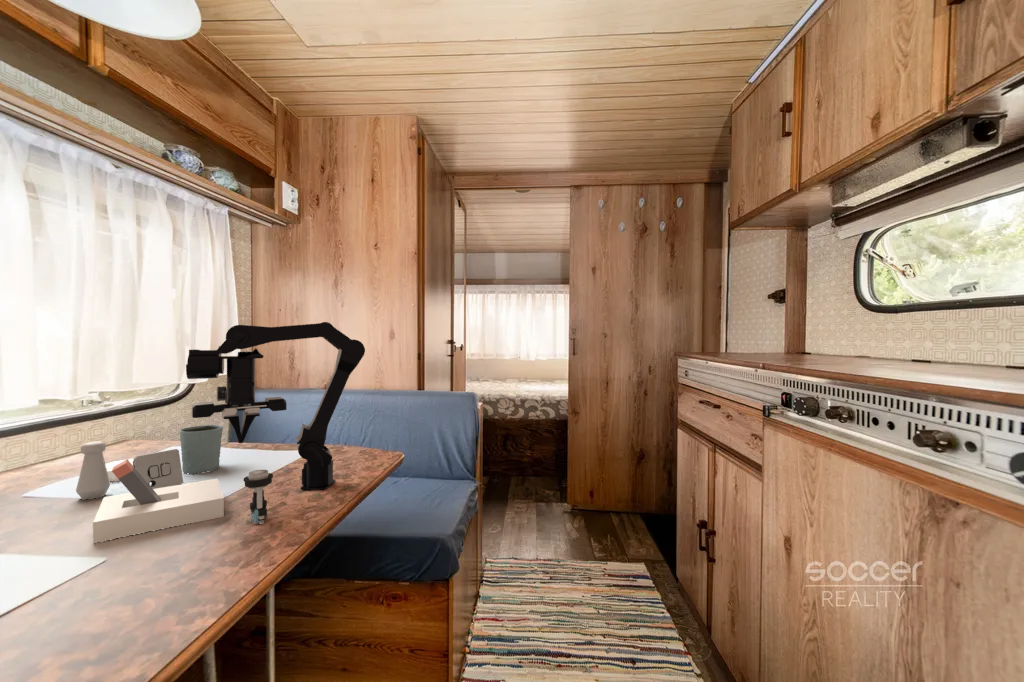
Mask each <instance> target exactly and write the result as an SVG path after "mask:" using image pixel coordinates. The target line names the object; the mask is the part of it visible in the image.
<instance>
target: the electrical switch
mask: <svg viewBox="0 0 1024 682" xmlns="http://www.w3.org/2000/svg"><path fill="white" fill-rule="evenodd" d="M132 459H133V466H134V468H135V469H136V470H137V471H138V472H139V473H140V475H141V476H142V477H143V478H144V479H145V481H146V482H147V483H148V484H149V485H150V486H151V488H152V489H157V488H163V487H169V486H175V485H181V484H183V483H184V478H183V469H182V463H181V462H182V461H181V457H180V450H179V449H177V448H174V449H173V448H172V449H168V450H163V451H158V452H152V453H148V454H141V455H136V456H135V457H134V458H132ZM150 483H151V484H150Z"/></svg>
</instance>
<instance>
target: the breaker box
mask: <svg viewBox="0 0 1024 682" xmlns="http://www.w3.org/2000/svg"><path fill="white" fill-rule="evenodd" d="M153 490H154V491H155V492H156V493H157V495H158V496H159V497H160V498H161V502H155V503H149V504H144V505H141V504H140V503H139V502H138V501H137V500H136V498H135V497H134V496H133V495H132V494H131V493H130V492H127V493H120V494H116V495H115V494H114V495H110V496H109V495H108V496H103V497H102V501H101V503H100V505H99V508H98V510H97V513H96V514H95V517H94V519H93V521H92V544H93V545H95V544H94V543H96V544H98V543H97V542H100V543H103V542H102V541H105V542H107V541H106V540H110V539H115V538H119V537H124V536H128V535H133V534H138V533H143V532H148V531H153V530H157V529H162V528H167V529H169V528H168V527H172V528H175V527H174V526H177V527H180V526H179V525H181V526H185V525H184V524H186V525H190V523H191V524H194V523H195V522H196V523H200V522H204V521H209V520H215V519H219V518H224V517H225V516H224V514H225V513H224V511H225V510H224V509H225V508H224V507H225V505H224V503H225V502H224V501H225V500H224V499H225V498H224V495H223V492H222V488H221V485H220V482H219V479H218V478H212V479H207V480H201V481H193V482H188V483H184V484H183V483H182V484H180V485H175V486H169V487H163V488H157V489H153ZM162 530H163V529H162ZM153 532H154V531H153ZM148 533H149V532H148ZM143 534H144V533H143ZM124 538H125V537H124ZM119 539H120V538H119ZM115 540H116V539H115ZM110 541H111V540H110Z"/></svg>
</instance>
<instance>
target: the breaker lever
mask: <svg viewBox="0 0 1024 682" xmlns="http://www.w3.org/2000/svg"><path fill="white" fill-rule="evenodd" d="M128 459H129V458H127V459H124V460H125V461H123V462H121V463H119V464H117V465H116V466H114V467H113V469H112V472H113V473H114V474H115V476H116V477H117V478H118V479H119V480H120V482H121V484H122V485H123V486H124V487H125V488H126V490H127V491H129V492H128V493H131V494H132V495H133V496H134V497H135V498H136V500H137V501H138V502H139V503H140V504H141V505H144V504H149V503H155V502H161V498H160V497H159V496H158V495H157V493H156V492H155V491H154V490H153V489H152V488H151V484H150V483H149V484H150V485H149V484H148V483H147V482H146V481H145V479H144V478H143V477H142V476H141V475H140V473H139V472H138V471H137V470H136V469H135V468H134V466H133V465H132V464H131V463H130V462H129V460H128Z"/></svg>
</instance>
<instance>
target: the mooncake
mask: <svg viewBox="0 0 1024 682" xmlns="http://www.w3.org/2000/svg"><path fill="white" fill-rule="evenodd" d="M127 459H128V460H129V462H130V463H131V464H132V465H133V459H134V458H127ZM125 460H126V459H121V460H116V461H115V460H114V461H111V462H107V463H105V465H106V469H107V473H108V477H109V481H111V482H119V481H120V480H119V479H118V478H117V477H116V476H115V474H114V473H113V472H112V469H113V467H114V466H116V465H117V464H119V463H121V462H123V461H125ZM120 482H121V481H120Z"/></svg>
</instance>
